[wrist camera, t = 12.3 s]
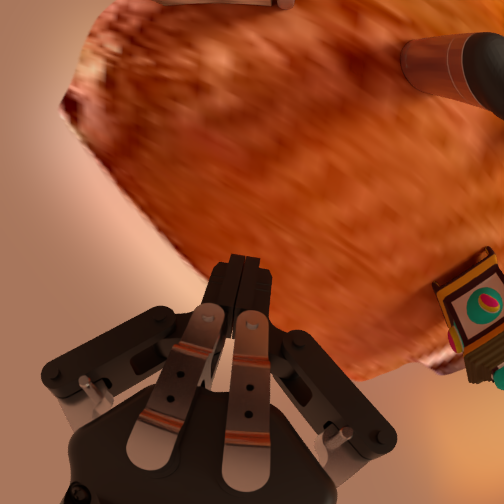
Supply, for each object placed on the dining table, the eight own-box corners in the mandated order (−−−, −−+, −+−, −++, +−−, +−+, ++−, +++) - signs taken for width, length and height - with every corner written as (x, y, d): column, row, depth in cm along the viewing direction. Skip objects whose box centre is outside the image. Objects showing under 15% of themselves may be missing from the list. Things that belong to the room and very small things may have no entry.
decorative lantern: (441, 323, 60) (472, 421, 36) (423, 281, 53) (469, 402, 29) (498, 287, 51) (543, 377, 27) (491, 236, 44) (560, 339, 20)
